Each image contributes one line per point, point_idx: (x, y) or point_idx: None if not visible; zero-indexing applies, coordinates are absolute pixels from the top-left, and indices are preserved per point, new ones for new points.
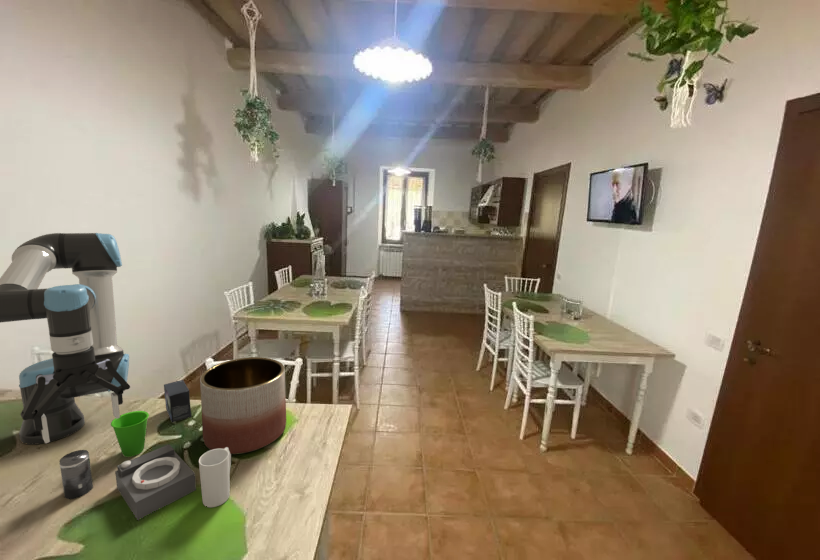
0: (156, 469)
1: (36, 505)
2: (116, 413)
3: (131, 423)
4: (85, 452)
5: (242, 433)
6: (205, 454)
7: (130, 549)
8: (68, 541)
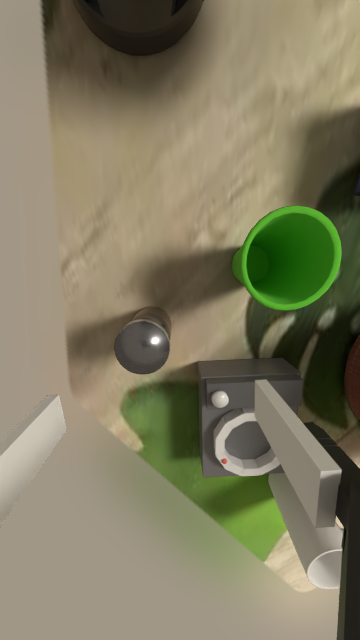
0: (253, 421)
1: (99, 316)
2: (265, 432)
3: (285, 227)
4: (163, 348)
5: None
6: (329, 549)
7: (180, 485)
8: (129, 426)
